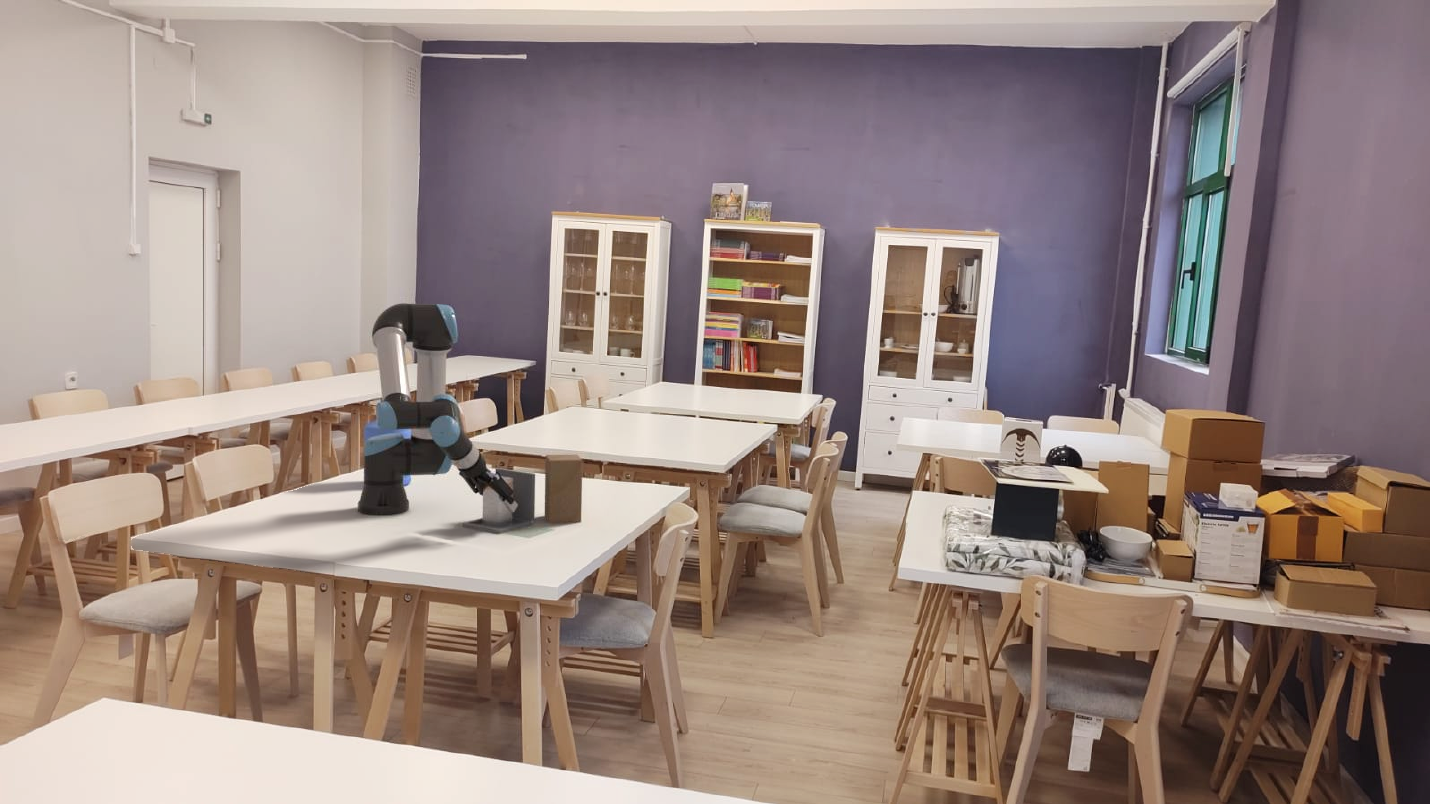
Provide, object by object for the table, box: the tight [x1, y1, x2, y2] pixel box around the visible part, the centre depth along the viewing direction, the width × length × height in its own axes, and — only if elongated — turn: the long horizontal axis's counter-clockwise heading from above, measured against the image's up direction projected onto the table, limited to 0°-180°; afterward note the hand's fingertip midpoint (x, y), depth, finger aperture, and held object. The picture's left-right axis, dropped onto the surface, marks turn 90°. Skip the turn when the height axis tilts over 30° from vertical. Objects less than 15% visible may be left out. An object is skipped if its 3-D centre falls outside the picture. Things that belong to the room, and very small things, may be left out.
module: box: [482, 476, 513, 529], centre depth 289 cm, size 6×6×14 cm
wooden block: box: [544, 454, 583, 524], centre depth 300 cm, size 10×10×20 cm
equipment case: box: [462, 467, 536, 535], centre depth 289 cm, size 14×15×16 cm
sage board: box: [506, 525, 556, 539], centre depth 284 cm, size 8×12×1 cm, turn 152°
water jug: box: [363, 419, 412, 487], centre depth 346 cm, size 16×16×28 cm
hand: (505, 506), depth 292 cm, fingers closed on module, 6 cm apart
